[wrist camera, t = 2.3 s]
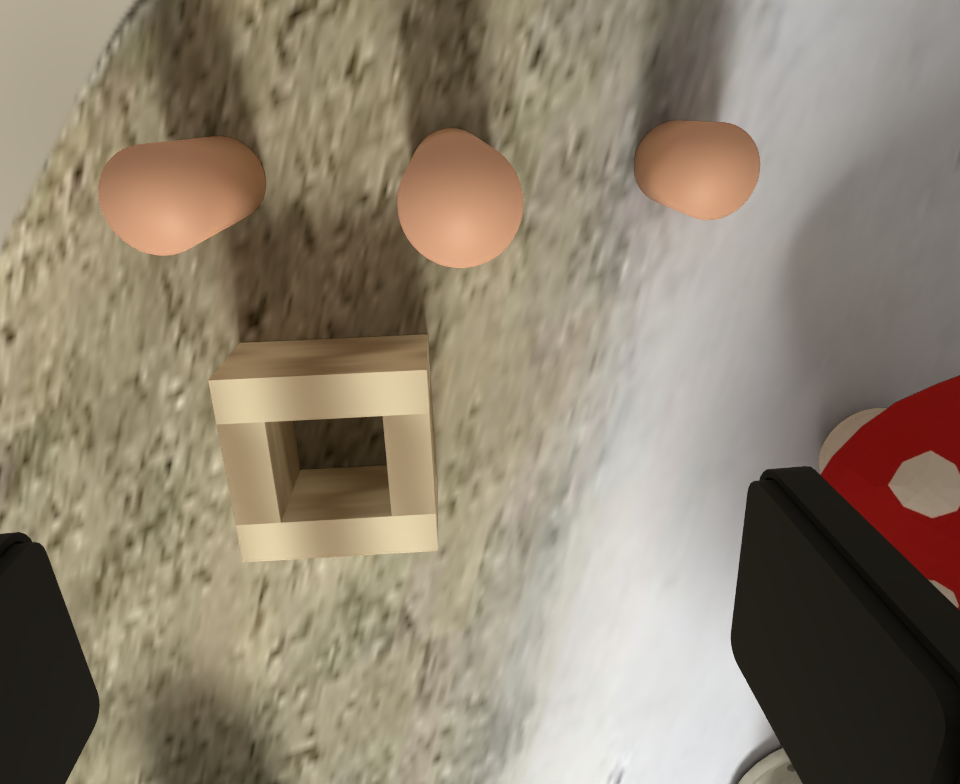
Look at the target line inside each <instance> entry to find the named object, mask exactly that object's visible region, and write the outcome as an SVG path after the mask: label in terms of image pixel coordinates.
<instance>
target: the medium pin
mask: <svg viewBox="0 0 960 784" xmlns="http://www.w3.org/2000/svg"><path fill="white" fill-rule="evenodd" d="M265 189H266V179H265V174H264V170H263V167H262V165H261V163H260V161H259V159H258V158H257V156H256V155H255V154H254V153H253V152H252V151H251V150H250V149H249V148H248V147H247V146H246V145H244V144H243V143H241V142H240V141H238V140H235V139H233V138H230V137H225V136H211V137H202V138H193V139H184V140H175V141H166V142H157V143H148V144H139V145H134V146H130V147H127V148H125V149H123V150H121V151H119V152H118V153H116V154H115V155H114V156H113V157H112V158H111V159H110V160H109V161H108V162H107V164H106V166H105V167H104V169H103V171H102V174H101V177H100V181H99V200H100V205H101V209H102V212H103V214H104V216H105V218H106V220H107V222H108V224H109V225H110V227H111V228H112V229H113V231H114V232H115V233H116V234H117V235H118V236H119V237H120V238H121V239H122V240H124V241H125V242H126V243H128V244H129V245H130V246H132V247H134V248H136V249H138V250H140V251H143V252H145V253H149V254H153V255H174V254H178V253H181V252H183V251H186V250H188V249H189V248H191V247H193V246H195V245H197V244H199V243H200V242H202V241H204V240H206V239H208V238H210V237H211V236H213V235H215V234H217V233H219V232H220V231H222V230H224V229H226V228H228V227H230V226H231V225H233V224H235V223H237V222H239V221H241V220H242V219H244V218H246V217H248V216H249V215H251V214H252V213H253V212H255V210H256V209H257V208H258V207H259V206H260V204H261V202H262V200H263V198H264V195H265Z"/></svg>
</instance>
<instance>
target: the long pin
mask: <svg viewBox="0 0 960 784" xmlns="http://www.w3.org/2000/svg"><path fill="white" fill-rule="evenodd" d="M397 205H398V215H399V219H400V223H401V226H402V228H403V231H404V233H405V235H406V236H407V238H408V240H409V241H410V242H411V244H412V245H413V246H414V247H415V248H416V249H417V250H418V251H419V252H420V253H421V254H422V255H423V256H425V257H426V258H428V259H430V260H431V261H433V262H435V263H438V264H440V265H444V266H447V267H453V268H467V267H474V266H478V265H481V264H483V263H486V262H488V261H490V260H492V259H493V258H495V257H496V256H498V255H499V254H500V253H501V252H502V251H503V250H504V249H506V247H507V246H508V245H509V244H510V243H511V241H512V240H513V238H514V236H515V235H516V232H517V230H518V228H519V225H520V222H521V219H522V213H523V193H522V188H521V185H520V182H519V179H518V176H517V174H516V172H515V170H514V169H513V167H512V166H511V164H510V163H509V162H508V161H507V160H506V158H505V157H504V156H503V155H501V154H500V153H499V152H498V151H497V150H495V149H494V148H492V147H491V146H489V145H488V144H486V143H485V142H483V141H482V140H480V139H479V138H477V137H476V136H474V135H473V134H471V133H469V132H467V131H465V130H462V129H457V128H445V129H441V130H438V131H435V132H433V133H431V134H430V135H428V136H427V137H426V138H425V139H424V140H423V141H422V142H421V143H420V144H419V146H418V147H417V149H416V151H415V153H414V155H413V157H412V159H411V161H410V163H409V165H408V167H407V169H406V171H405V173H404V175H403V178H402V180H401V183H400V187H399V191H398V199H397Z"/></svg>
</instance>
